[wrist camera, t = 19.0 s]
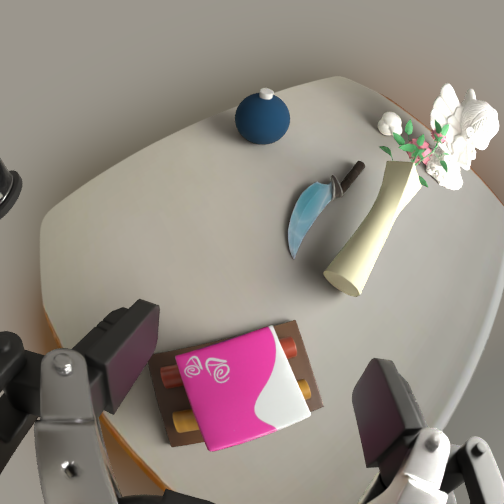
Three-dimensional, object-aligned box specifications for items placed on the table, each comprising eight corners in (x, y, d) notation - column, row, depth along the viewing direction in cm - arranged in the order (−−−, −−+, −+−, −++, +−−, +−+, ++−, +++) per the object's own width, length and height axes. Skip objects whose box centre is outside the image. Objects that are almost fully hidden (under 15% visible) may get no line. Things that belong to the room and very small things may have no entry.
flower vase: (305, 284, 40) (395, 142, 47) (376, 327, 34) (449, 166, 41) (293, 245, 30) (399, 94, 37) (393, 302, 24) (462, 119, 31)
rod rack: (173, 445, 22) (166, 452, 19) (149, 356, 26) (140, 352, 23) (321, 405, 25) (332, 407, 22) (293, 321, 29) (301, 314, 26)
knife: (263, 239, 34) (295, 264, 33) (265, 234, 32) (299, 260, 32) (338, 151, 42) (362, 169, 41) (342, 145, 41) (367, 164, 40)
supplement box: (254, 348, 25) (276, 321, 14) (277, 405, 22) (317, 420, 12) (195, 367, 23) (171, 355, 13) (216, 426, 21) (210, 458, 11)
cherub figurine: (438, 195, 42) (496, 120, 24) (402, 147, 47) (444, 72, 29) (466, 188, 45) (515, 127, 27) (435, 146, 50) (474, 84, 32)
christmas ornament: (294, 140, 43) (307, 91, 34) (262, 163, 40) (272, 108, 31) (256, 118, 45) (263, 71, 36) (223, 137, 42) (224, 85, 33)
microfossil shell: (381, 124, 50) (390, 105, 45) (400, 139, 48) (411, 120, 43) (372, 130, 48) (382, 109, 43) (393, 145, 47) (404, 125, 42)
